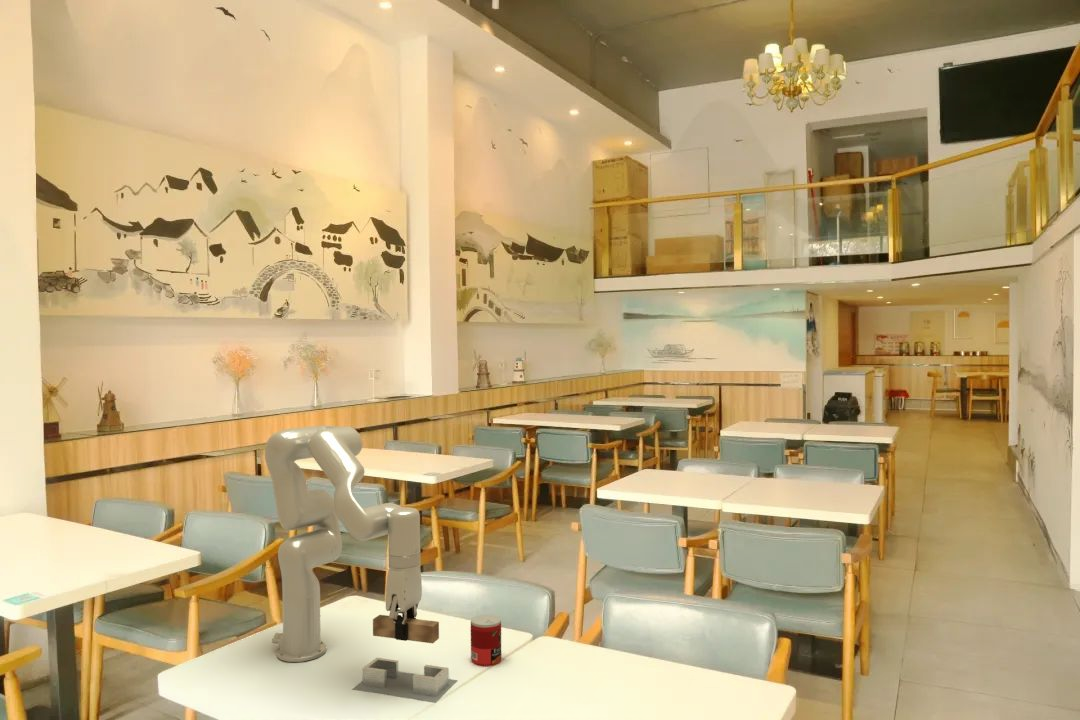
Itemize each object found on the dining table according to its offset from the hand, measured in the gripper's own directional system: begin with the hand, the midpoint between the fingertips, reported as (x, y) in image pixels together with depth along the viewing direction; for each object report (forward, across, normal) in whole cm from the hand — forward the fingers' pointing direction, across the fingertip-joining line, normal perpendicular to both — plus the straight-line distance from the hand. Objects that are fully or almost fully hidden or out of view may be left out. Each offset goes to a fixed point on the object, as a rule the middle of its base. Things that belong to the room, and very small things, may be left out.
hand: (405, 635), depth 178 cm
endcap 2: (+12, 0, +6) cm, 14 cm away
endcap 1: (+12, 0, -7) cm, 14 cm away
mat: (+12, 0, 0) cm, 12 cm away
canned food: (+13, -19, +13) cm, 26 cm away
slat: (0, 0, 0) cm, 0 cm away
